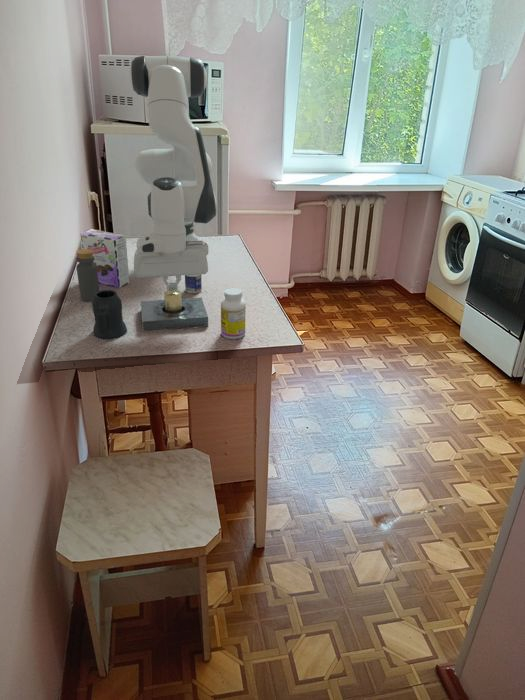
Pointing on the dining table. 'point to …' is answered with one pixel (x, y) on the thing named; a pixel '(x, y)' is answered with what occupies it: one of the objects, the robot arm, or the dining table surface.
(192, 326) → the jig
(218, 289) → the dining table surface
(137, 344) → the dining table surface
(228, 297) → the supplement bottle
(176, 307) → the gold rounded cylinder
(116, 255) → the candy box
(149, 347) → the dining table surface
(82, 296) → the bottle
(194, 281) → the pill bottle
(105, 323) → the dark grey flared cylinder
